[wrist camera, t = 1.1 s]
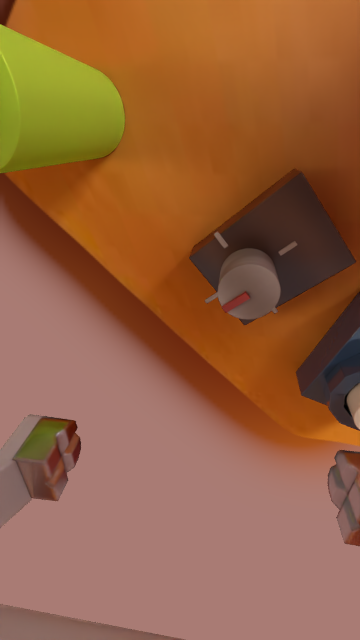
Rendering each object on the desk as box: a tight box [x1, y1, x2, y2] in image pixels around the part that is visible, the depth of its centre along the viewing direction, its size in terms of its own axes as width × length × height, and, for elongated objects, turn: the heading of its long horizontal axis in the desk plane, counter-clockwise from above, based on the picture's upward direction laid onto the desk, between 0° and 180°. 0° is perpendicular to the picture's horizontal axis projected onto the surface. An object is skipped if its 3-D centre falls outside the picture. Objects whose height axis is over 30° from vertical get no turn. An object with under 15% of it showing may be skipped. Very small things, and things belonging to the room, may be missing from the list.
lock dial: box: [218, 248, 281, 319], centre depth 23 cm, size 4×4×4 cm
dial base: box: [189, 169, 356, 325], centre depth 25 cm, size 11×9×3 cm
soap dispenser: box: [0, 24, 125, 173], centre depth 15 cm, size 6×7×20 cm
